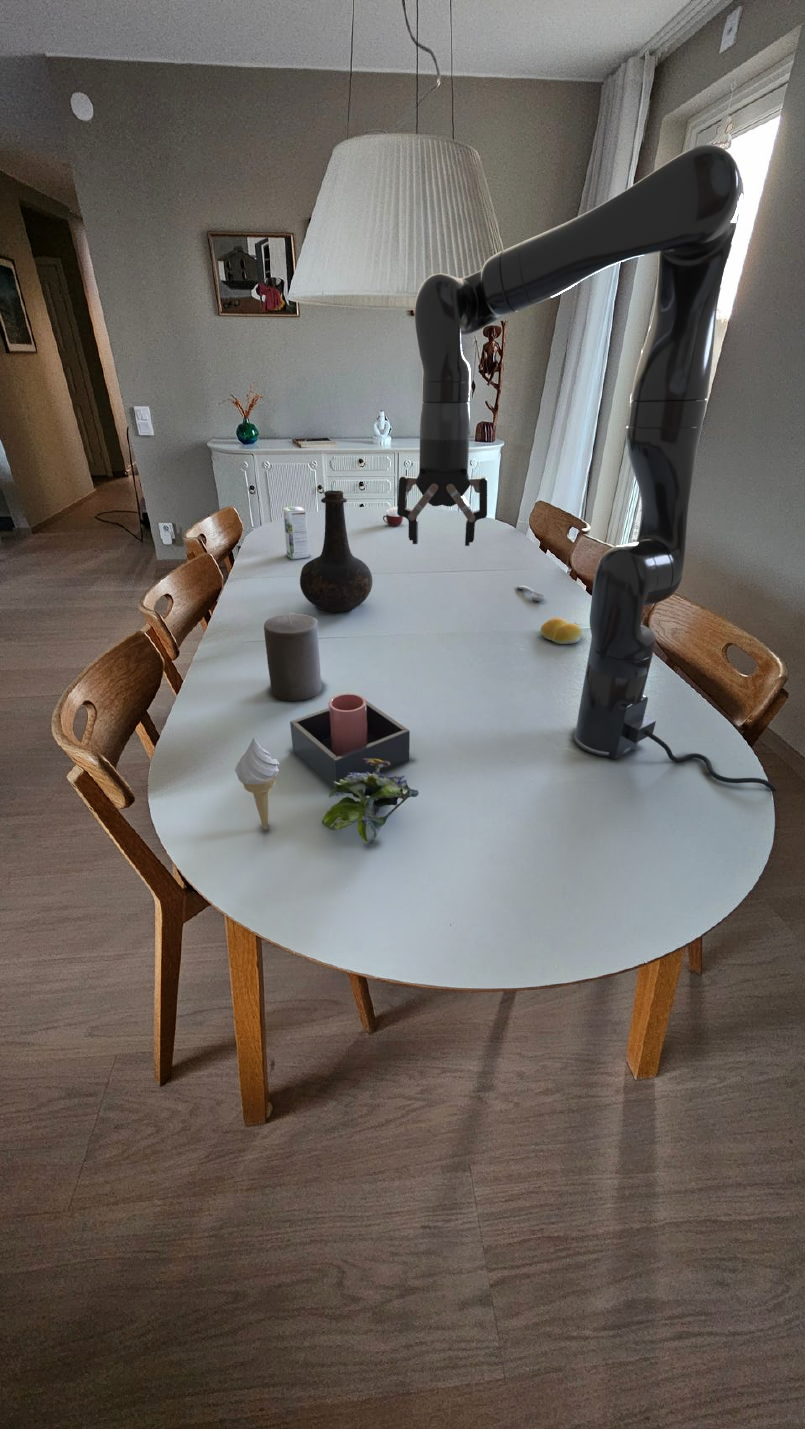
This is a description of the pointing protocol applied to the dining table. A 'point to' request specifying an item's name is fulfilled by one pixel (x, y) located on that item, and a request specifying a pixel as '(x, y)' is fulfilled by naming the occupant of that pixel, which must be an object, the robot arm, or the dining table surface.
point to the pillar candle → (293, 656)
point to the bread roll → (561, 631)
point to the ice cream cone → (258, 776)
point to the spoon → (535, 595)
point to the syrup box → (296, 532)
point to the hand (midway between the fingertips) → (441, 544)
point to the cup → (347, 723)
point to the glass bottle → (335, 565)
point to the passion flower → (366, 799)
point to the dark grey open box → (383, 744)
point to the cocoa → (393, 516)
